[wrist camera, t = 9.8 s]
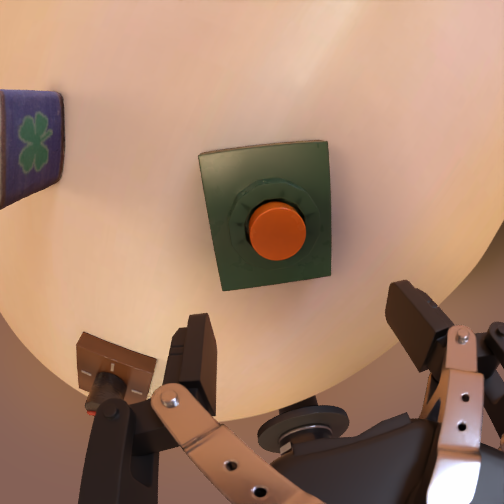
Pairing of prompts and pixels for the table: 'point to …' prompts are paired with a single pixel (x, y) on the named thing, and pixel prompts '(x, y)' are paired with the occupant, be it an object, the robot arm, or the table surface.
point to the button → (276, 231)
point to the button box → (261, 192)
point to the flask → (29, 142)
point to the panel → (114, 366)
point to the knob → (104, 391)
